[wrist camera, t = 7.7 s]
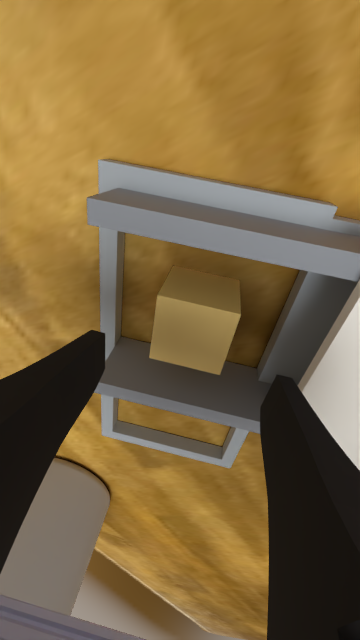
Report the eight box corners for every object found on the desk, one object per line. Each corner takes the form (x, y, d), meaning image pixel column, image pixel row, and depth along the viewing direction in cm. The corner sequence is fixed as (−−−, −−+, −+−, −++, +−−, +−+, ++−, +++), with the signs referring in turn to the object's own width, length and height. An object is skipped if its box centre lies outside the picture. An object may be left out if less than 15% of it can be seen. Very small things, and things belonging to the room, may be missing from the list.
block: (222, 333, 18) (219, 375, 14) (164, 319, 18) (149, 357, 15) (239, 279, 16) (241, 314, 12) (173, 264, 16) (157, 295, 12)
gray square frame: (332, 481, 24) (350, 542, 20) (107, 424, 25) (85, 471, 22) (561, 248, 12) (710, 291, 8) (108, 159, 13) (59, 162, 10)
